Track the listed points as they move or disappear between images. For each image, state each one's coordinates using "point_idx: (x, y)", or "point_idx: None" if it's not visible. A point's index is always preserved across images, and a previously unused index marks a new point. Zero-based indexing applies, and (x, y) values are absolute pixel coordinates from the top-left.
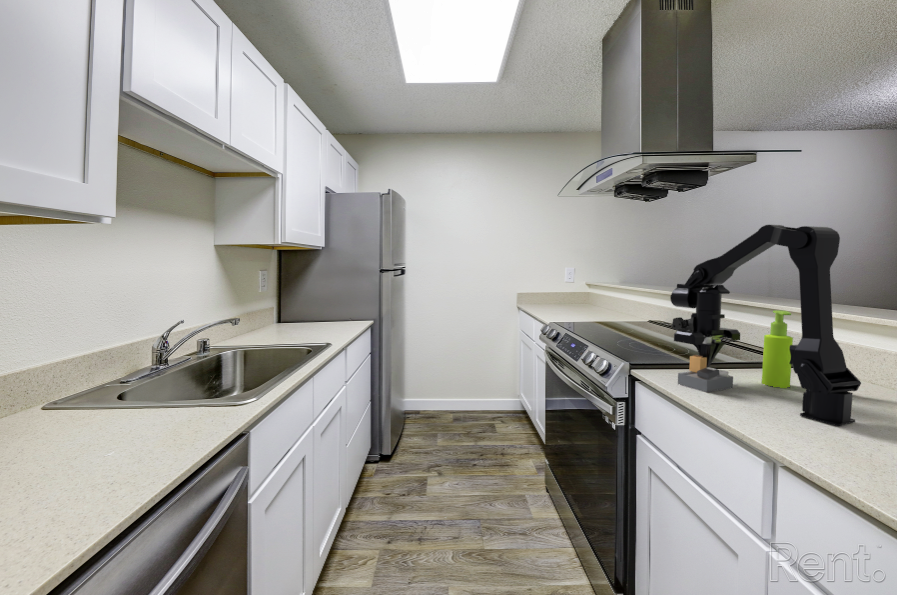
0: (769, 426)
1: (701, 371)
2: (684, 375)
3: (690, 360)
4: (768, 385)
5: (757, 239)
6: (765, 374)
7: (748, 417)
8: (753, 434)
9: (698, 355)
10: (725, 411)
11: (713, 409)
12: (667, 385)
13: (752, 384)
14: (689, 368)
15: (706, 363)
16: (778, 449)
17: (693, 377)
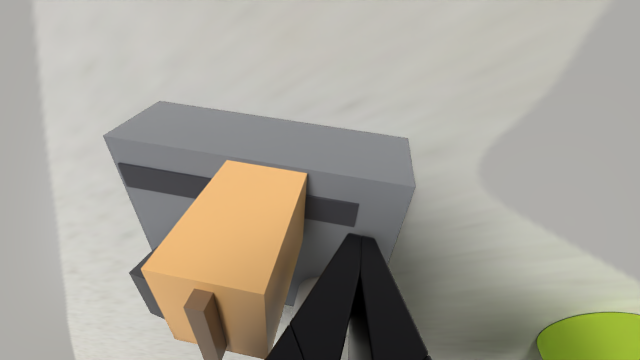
0: (139, 347)
1: (145, 289)
2: (126, 177)
3: (174, 234)
4: (544, 332)
5: None
6: None
7: (137, 328)
8: (81, 338)
9: (204, 339)
10: (112, 302)
11: (91, 286)
12: (77, 85)
13: (530, 295)
14: (219, 171)
15: (282, 302)
16: (79, 355)
17: (145, 226)
